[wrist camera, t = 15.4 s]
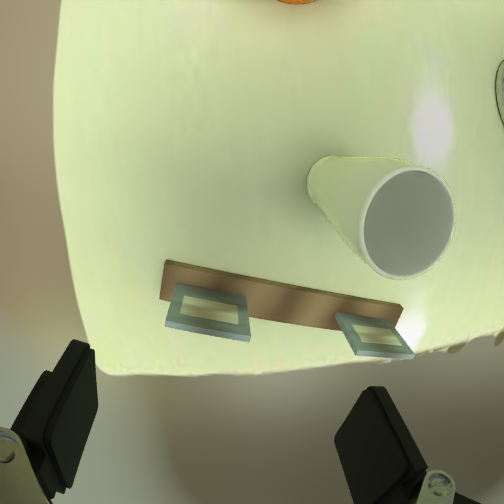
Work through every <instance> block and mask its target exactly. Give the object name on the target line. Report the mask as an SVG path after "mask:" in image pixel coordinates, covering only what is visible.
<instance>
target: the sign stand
mask: <svg viewBox="0 0 504 504" xmlns="http://www.w3.org/2000/svg"><path fill="white" fill-rule="evenodd" d="M160 299H161V300H165V301H170V302H171V304H170V307H169V310H168V314H167V317H166V321H165V327H170V328H175V329H179V330H184V331H189V332H195V333H200V334H205V335H210V336H216V337H222V338H227V339H233V340H239V341H245V342H249V341H250V338H251V333H250V325H249V317H253V318H259V319H265V320H271V321H277V322H283V323H290V324H296V325H303V326H310V327H317V328H324V329H331V330H338V331H343V333H344V335H345V337H346V339H347V340H348V342H349V344H350V346H351V348H352V350H353V352H354V353H355V355H358V356H370V357H384V358H399V359H413V357H414V355H415V354H414V353H413V351H412V350H411V349H410V347H409V346H408V345H407V343H406V342H405V341H404V339H403V338H402V337H401V336H400V334H399V333H398V332H397V330H396V329H395V326H396V324H397V322H398V319H399V317H400V315H401V313H402V311H403V309H404V308H403V307H402V306H401V305H400V304H394V303H388V302H382V301H377V300H371V299H365V298H359V297H354V296H348V295H343V294H337V293H332V292H326V291H321V290H315V289H310V288H305V287H299V286H294V285H289V284H283V283H278V282H273V281H268V280H263V279H258V278H252V277H247V276H242V275H237V274H232V273H227V272H222V271H217V270H213V269H208V268H203V267H198V266H193V265H188V264H184V263H179V262H174V261H169V260H166V262H165V264H164V270H163V277H162V284H161V291H160Z"/></svg>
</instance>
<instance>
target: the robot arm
mask: <svg viewBox="0 0 504 504" xmlns="http://www.w3.org/2000/svg"><path fill="white" fill-rule="evenodd" d="M496 93H497V101H498V107H499V111H500V114H501V117H502V120H503V122H504V61H503V62H502V64H501V65H500V67H499V70H498V73H497V80H496ZM97 409H98V396H97V383H96V368H95V351H94V349H90V345H89V344H88V343H85V342H81V341H78V340H75V339H73V340H72V341H71V342H70V344H69V345H68V347H67V348H66V350H65V352H64V353H63V355H62V357H61V359H60V360H59V361H58V363H57V365H56V366H55V368H54V370H53V372H50V371H47V370H46V371H44V372H43V373H42V375H41V376H40V378H39V379H38V381H37V383H36V384H35V386H34V388H33V390H32V391H31V393H30V395H29V396H28V398H27V400H26V402H25V403H24V405H23V407H22V409H21V410H20V412H19V414H18V416H17V418H16V420H15V421H14V423H13V425H12V427H11V429H7V428H4V427H0V504H53V502H52V500H51V499H53V498H54V496H55V493H56V491H57V492H59V493H62V494H64V493H65V490H66V487H67V488H69V489H70V488H71V487H72V485H73V482H74V478H75V475H76V472H77V469H78V466H79V462H80V459H81V456H82V453H83V450H84V447H85V444H86V441H87V438H88V435H89V433H90V430H91V427H92V424H93V421H94V418H95V416H96V413H97ZM334 442H335V446H336V449H337V452H338V455H339V458H340V461H341V464H342V468H343V471H344V474H345V477H346V480H347V483H348V486H349V489H350V493H351V496H352V499H353V502H354V504H481V503H478V502H476V501H473V500H471V499H469V498H467V497H465V496H463V495H460V494H458V493H456V492H455V484H454V481H453V480H452V478H451V477H450V476H449V475H448V474H447V473H445V472H443V471H440V470H432V471H430V472H428V473H426V471H425V470H426V469H427V468H428V467H427V465H426V463H425V461H424V459H423V457H422V455H421V453H420V451H419V449H418V447H417V445H416V443H415V442H414V440H413V438H412V436H411V434H410V432H409V430H408V428H407V426H406V425H405V423H404V421H403V419H402V417H401V415H400V414H399V412H398V410H397V408H396V406H395V404H394V403H393V401H392V399H391V397H390V395H389V394H388V392H387V390H386V389H385V387H382V386H369V387H368V388H367V389H366V390H364V391H363V392H362V393H361V395H360V397H359V398H358V400H357V402H356V403H355V405H354V406H353V408H352V410H351V411H350V413H349V414H348V416H347V418H346V419H345V421H344V423H343V424H342V425H341V427H340V428H339V430H338V431H337V433H336V435H335V438H334Z"/></svg>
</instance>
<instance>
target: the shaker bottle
mask: <svg viewBox="0 0 504 504" xmlns="http://www.w3.org/2000/svg"><path fill="white" fill-rule="evenodd" d="M280 1H282V2H286V3H292V4H304V3H309V2H312V1H314V0H280Z"/></svg>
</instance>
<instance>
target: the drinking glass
mask: <svg viewBox="0 0 504 504" xmlns="http://www.w3.org/2000/svg"><path fill="white" fill-rule="evenodd" d="M307 190H308V193H309V196H310V198H311V199H312V201H313V202H314V203H315V204H316V205H317V206H318V207H319V208H320V209H321V210H322V212H323V213H324V214H325V216H326V217H327V219H328V220H329V221H330V223H331V224H332V226H333V227H334V228H335V230H336V231H337V233H338V234H339V235H340V237H341V238H342V239H343V241H344V242H345V243H346V244H347V245H348V246H349V248H350V249H351V250H352V251H353V252H354V253H355V254H356V255H357V256H358V257H359V258H361V259H362V260H363V261H364V262H365V263H366V264H367V265H369V266H370V267H371V268H372V269H373V270H374V271H376V272H377V273H378V274H380V275H382V276H384V277H386V278H389V279H394V280H407V279H411V278H415V277H417V276H420V275H422V274H424V273H425V272H427V271H428V270H430V269H431V268H432V267H433V266H434V265H435V264H436V263H437V262H438V261H439V260H440V259H441V258H442V256H443V255H444V254H445V252H446V250H447V249H448V247H449V245H450V242H451V240H452V237H453V234H454V230H455V224H456V207H455V202H454V198H453V195H452V192H451V190H450V188H449V186H448V185H447V183H446V182H445V180H444V179H443V178H442V177H441V176H440V175H439V174H437V173H436V172H435V171H433V170H431V169H429V168H427V167H424V166H421V165H418V164H415V163H412V162H408V161H404V160H400V159H395V158H388V157H342V156H336V155H332V156H327V157H324V158H322V159H320V160H318V161H317V162H316V163H315V164H314V165H313V166H312V168H311V169H310V171H309V174H308V177H307Z"/></svg>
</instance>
